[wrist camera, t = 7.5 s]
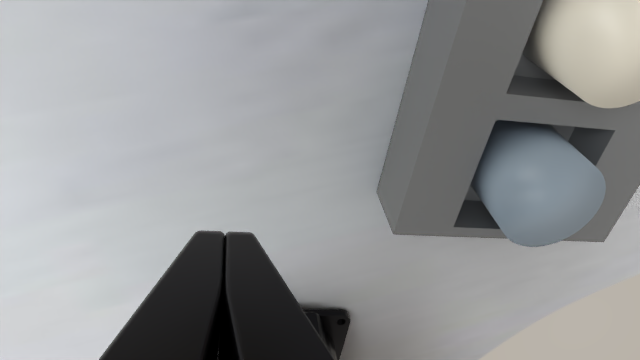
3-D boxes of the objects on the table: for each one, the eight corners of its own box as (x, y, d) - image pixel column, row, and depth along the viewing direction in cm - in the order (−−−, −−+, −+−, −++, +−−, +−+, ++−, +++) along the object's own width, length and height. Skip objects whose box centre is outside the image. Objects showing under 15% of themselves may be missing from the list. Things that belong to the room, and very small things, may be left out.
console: (567, 202, 24) (603, 242, 22) (376, 191, 22) (393, 234, 20) (825, -277, 15) (942, -301, 12) (529, -370, 13) (598, -421, 10)
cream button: (593, 73, 19) (655, 113, 16) (501, 62, 18) (549, 102, 15) (646, -36, 17) (728, -12, 14) (544, -54, 16) (610, -32, 13)
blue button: (533, 196, 22) (575, 248, 20) (452, 192, 22) (484, 245, 19) (571, 118, 20) (625, 163, 17) (483, 110, 19) (524, 156, 17)
